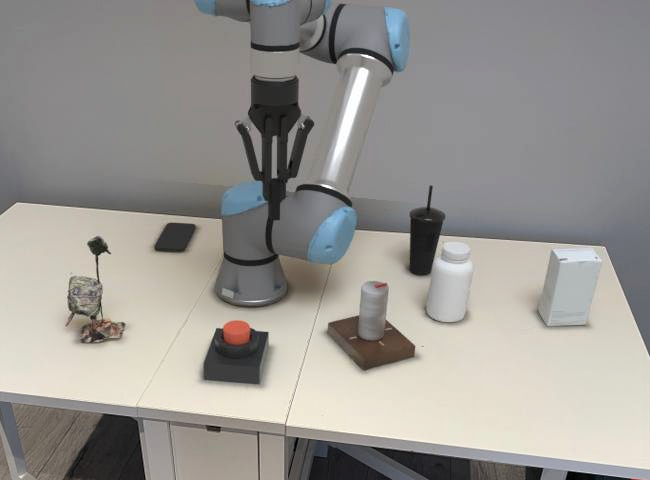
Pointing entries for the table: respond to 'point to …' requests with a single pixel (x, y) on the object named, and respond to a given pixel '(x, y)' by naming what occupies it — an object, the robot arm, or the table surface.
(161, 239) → the phone
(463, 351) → the table surface
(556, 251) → the cosmetic box
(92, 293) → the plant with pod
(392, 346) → the panel
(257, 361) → the button base
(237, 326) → the red push button
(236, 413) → the table surface
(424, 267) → the drinking cup
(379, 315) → the dial
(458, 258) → the pill bottle
